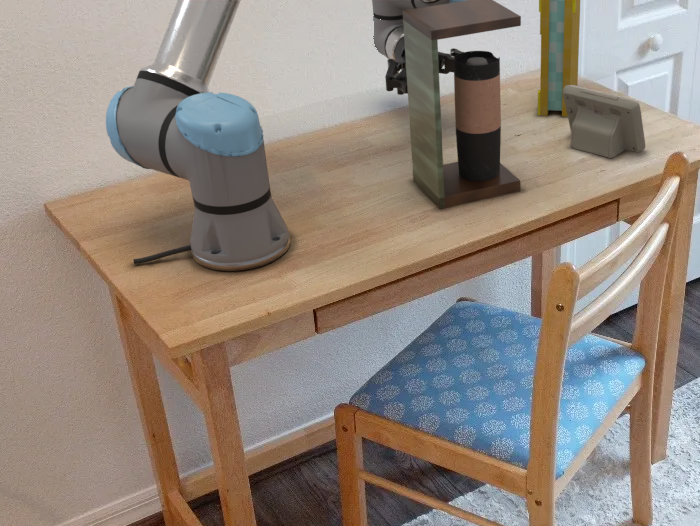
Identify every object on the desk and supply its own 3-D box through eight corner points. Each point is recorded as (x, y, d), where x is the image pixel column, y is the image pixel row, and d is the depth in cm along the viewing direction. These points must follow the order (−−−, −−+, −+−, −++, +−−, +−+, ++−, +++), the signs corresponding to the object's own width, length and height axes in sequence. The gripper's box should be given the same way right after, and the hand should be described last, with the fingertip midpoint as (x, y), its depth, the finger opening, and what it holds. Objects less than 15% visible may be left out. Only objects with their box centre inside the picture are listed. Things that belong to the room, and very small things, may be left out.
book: (571, 116, 198) (575, -14, 184) (537, 115, 200) (539, -15, 185) (580, 86, 212) (585, -38, 197) (549, 85, 213) (551, -38, 199)
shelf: (439, 209, 167) (431, 30, 150) (413, 181, 176) (402, 10, 159) (520, 191, 172) (521, 16, 155) (490, 165, 181) (488, -3, 164)
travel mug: (451, 179, 172) (446, 64, 160) (464, 161, 178) (460, 48, 166) (494, 184, 170) (493, 67, 158) (506, 165, 176) (505, 51, 164)
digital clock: (650, 152, 183) (655, 96, 177) (615, 166, 179) (619, 109, 173) (587, 127, 194) (589, 73, 188) (553, 140, 189) (554, 85, 183)
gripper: (473, 61, 195) (521, 96, 179) (351, 83, 187) (390, 121, 171) (472, 22, 191) (521, 55, 175) (347, 43, 183) (387, 78, 167)
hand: (456, 88), depth 173 cm, fingers open, 13 cm apart
